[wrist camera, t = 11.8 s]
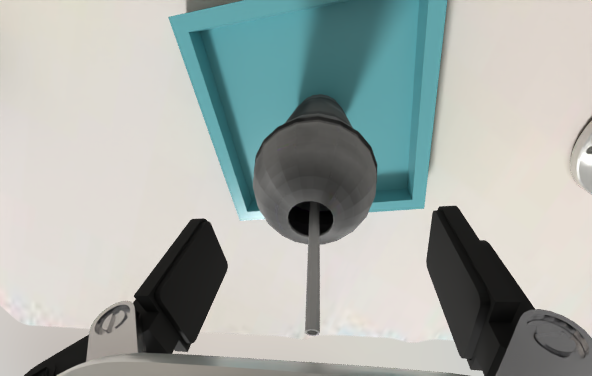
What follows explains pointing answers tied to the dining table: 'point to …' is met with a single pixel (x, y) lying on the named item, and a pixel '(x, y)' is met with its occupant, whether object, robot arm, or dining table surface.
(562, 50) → the dining table surface
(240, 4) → the tray
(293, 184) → the beverage cup
